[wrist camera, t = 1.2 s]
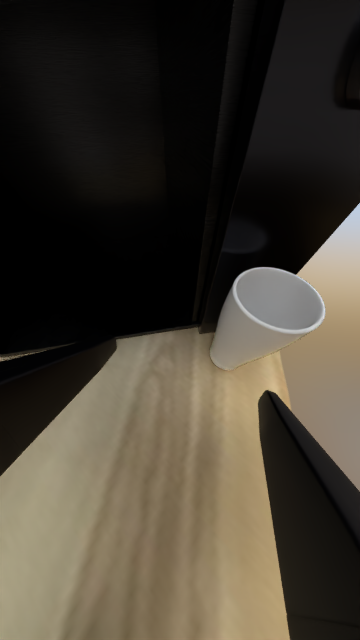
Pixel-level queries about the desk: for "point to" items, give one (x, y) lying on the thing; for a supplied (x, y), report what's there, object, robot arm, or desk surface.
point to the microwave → (166, 157)
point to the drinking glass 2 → (264, 316)
